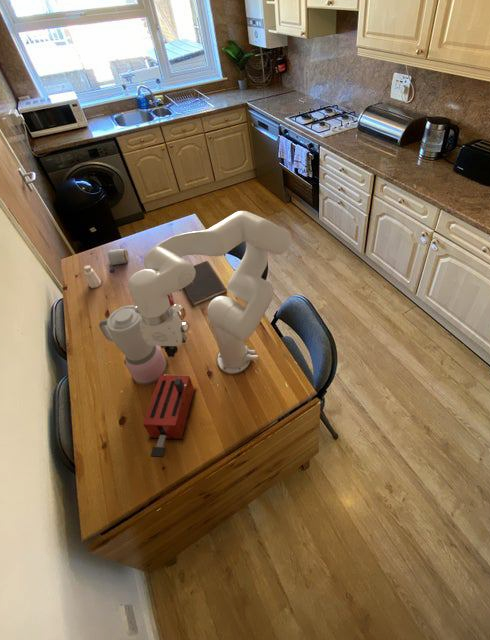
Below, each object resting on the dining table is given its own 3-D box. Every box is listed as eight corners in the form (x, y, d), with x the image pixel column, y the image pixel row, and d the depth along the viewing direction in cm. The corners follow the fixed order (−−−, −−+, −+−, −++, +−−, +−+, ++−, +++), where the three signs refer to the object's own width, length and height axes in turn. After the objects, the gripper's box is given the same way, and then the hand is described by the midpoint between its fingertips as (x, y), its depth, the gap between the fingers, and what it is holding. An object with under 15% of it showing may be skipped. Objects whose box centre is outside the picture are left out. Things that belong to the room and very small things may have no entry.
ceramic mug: (129, 264, 174) (124, 253, 169) (112, 268, 172) (106, 256, 167) (130, 252, 182) (125, 240, 177) (113, 255, 180) (108, 244, 175)
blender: (172, 356, 131) (149, 300, 112) (162, 387, 122) (135, 331, 102) (131, 356, 132) (102, 300, 112) (118, 386, 123) (84, 330, 103)
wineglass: (192, 326, 142) (186, 307, 135) (180, 335, 139) (173, 316, 132) (184, 319, 145) (178, 300, 138) (172, 327, 142) (165, 308, 135)
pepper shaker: (102, 285, 163) (94, 268, 156) (90, 289, 161) (81, 272, 154) (100, 278, 167) (91, 261, 160) (88, 283, 164) (79, 266, 157)
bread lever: (169, 436, 106) (168, 434, 105) (163, 457, 101) (162, 456, 100) (157, 436, 106) (156, 434, 105) (151, 457, 101) (150, 455, 100)
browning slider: (184, 386, 111) (181, 378, 108) (182, 391, 110) (179, 384, 107) (179, 385, 111) (176, 378, 108) (177, 391, 110) (174, 384, 107)
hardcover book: (193, 306, 151) (192, 303, 150) (177, 275, 167) (176, 272, 165) (226, 292, 157) (226, 288, 156) (208, 263, 173) (207, 260, 172)
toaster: (195, 390, 121) (189, 374, 114) (182, 440, 108) (175, 426, 102) (166, 389, 121) (159, 373, 115) (150, 439, 108) (141, 424, 102)
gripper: (122, 322, 85) (142, 363, 97) (180, 323, 85) (194, 365, 96) (133, 299, 91) (151, 341, 103) (188, 300, 91) (201, 342, 102)
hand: (172, 352), depth 99 cm, fingers closed
